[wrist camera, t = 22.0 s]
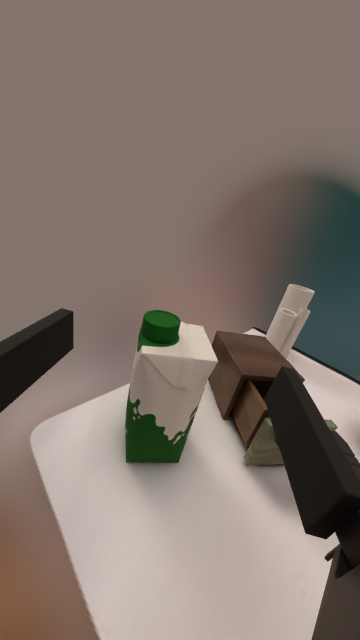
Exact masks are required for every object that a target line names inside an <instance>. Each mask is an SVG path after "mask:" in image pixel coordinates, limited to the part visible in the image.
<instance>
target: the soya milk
mask: <svg viewBox="0 0 360 640" xmlns="http://www.w3.org/2000/svg"><path fill="white" fill-rule="evenodd" d="M217 362H218V360H217V357H216V355H215V353H214V351H213V348H212V346H211V344H210V342H209V339H208V337H207V335H206V333H205V330H204V328H203V326H199V325H191V324H185V323H184V322H181V321H180V319H179V318H178V317H177V316H176V315H174V314H172V313H170V312H166V311H161V310H153V311H148V312H146V313H145V314H144V318H143V323H142V327H141V329H140V333H139V338H138V345H137V349H136V354H135V359H134V364H133V368H132V375H131V381H130V388H129V395H128V402H127V409H126V424H125V430H126V462H179V459H180V456H181V453H182V451H183V448H184V445H185V442H186V439H187V436H188V434H189V431H190V428H191V425H192V422H193V419H194V416H195V414H196V411H197V408H198V405H199V402H200V400H201V397H202V394H203V391H204V388H205V385H206V383H207V380H208V378H209V376H210V374H211V372H212V371H213V369H214V367H215V366H216V364H217Z"/></svg>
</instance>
